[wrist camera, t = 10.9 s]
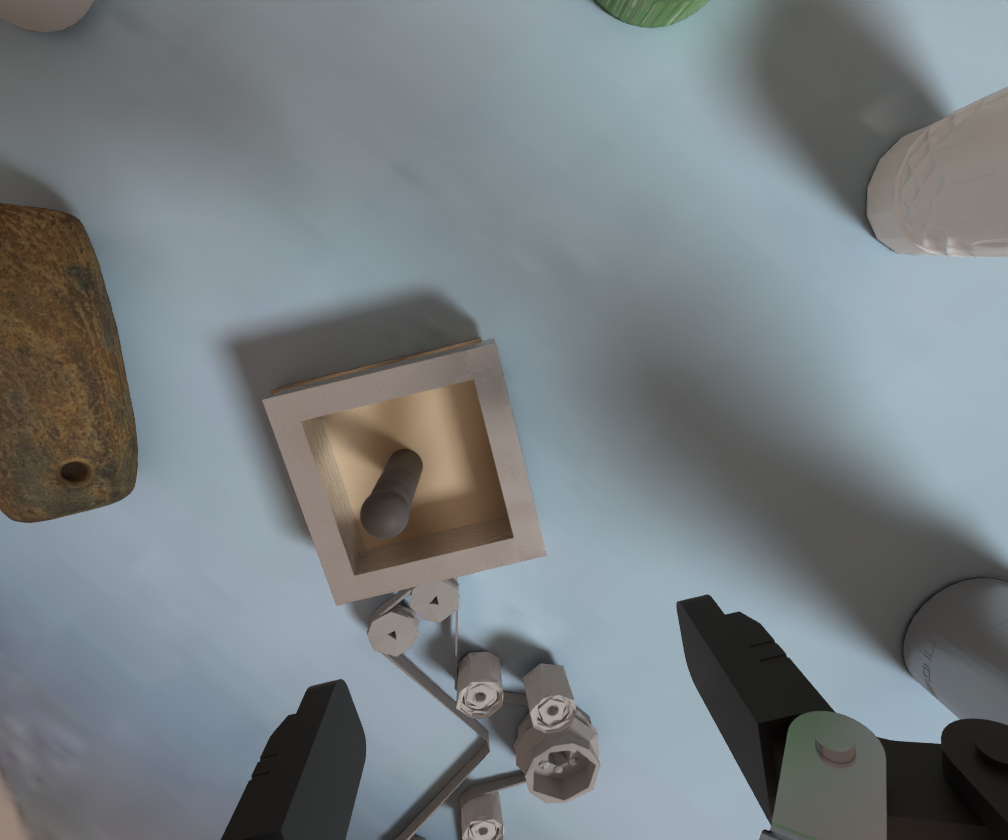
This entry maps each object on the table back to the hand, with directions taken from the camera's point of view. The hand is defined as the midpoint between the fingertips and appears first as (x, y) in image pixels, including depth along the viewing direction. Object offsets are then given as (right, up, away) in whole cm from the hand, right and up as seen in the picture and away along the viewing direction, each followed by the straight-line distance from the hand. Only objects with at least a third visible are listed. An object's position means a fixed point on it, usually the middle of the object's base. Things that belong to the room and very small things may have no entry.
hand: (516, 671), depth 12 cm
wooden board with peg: (-6, +4, +19) cm, 20 cm away
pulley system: (-1, -16, +25) cm, 30 cm away
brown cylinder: (-24, +9, +17) cm, 31 cm away
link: (-5, +3, +18) cm, 19 cm away
